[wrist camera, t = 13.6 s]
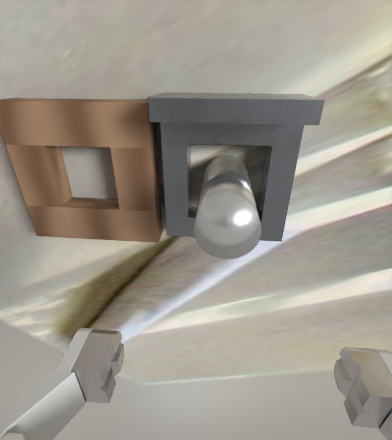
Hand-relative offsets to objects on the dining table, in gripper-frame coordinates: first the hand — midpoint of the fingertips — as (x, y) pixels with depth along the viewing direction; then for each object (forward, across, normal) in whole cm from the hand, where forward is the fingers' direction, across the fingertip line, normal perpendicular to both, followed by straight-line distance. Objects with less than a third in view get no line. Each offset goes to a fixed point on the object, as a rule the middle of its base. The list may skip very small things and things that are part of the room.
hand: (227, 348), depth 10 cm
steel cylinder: (+20, 0, 0) cm, 20 cm away
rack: (+20, 0, 0) cm, 20 cm away
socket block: (+20, +14, 0) cm, 24 cm away
